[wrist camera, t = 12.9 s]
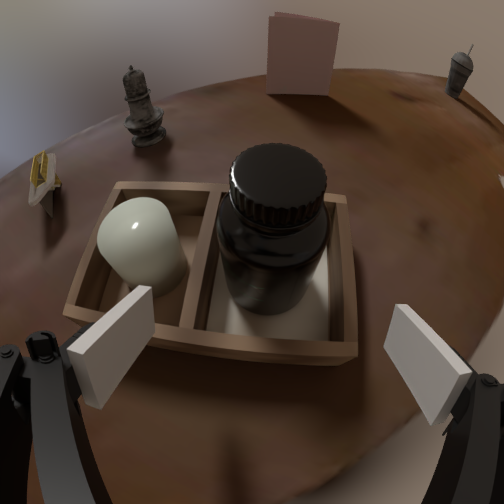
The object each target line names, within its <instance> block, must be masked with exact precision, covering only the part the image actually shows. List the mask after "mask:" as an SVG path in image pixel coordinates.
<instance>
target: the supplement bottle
mask: <svg viewBox="0 0 504 504" xmlns="http://www.w3.org/2000/svg"><path fill="white" fill-rule="evenodd" d="M326 181H327V176H326V174H325V170H324V168H323V167H322V164H321V163H320V162H319V161H318V159H317V158H315V157H313V155H312V154H310V153H308V152H306V151H305V150H303V149H300V148H298V147H296V146H291V145H289V144H282V143H277V144H276V143H269V144H261V145H255V146H254V147H251V148H248V149H247V150H246V151H243V152H241V154H240V155H239V156H237V157H236V160H234V161H233V162H232V166H231V168H230V174H229V184H230V188H229V191H228V192H227V194H226V195H225V196H224V198H223V199H222V201H221V203H220V205H219V207H218V210H217V214H216V231H217V237H218V243H219V248H220V253H221V259H222V264H223V269H224V274H225V279H226V284H227V287H228V290H229V292H230V294H231V296H232V298H233V299H234V300H235V301H236V302H237V304H239V305H240V306H241V307H242V308H244V309H245V310H247V311H249V312H251V313H254V314H258V315H264V316H271V315H278V314H281V313H284V312H286V311H289V310H290V309H292V308H293V307H295V306H296V305H297V304H298V303H299V302H300V301H301V299H302V298H303V296H304V295H305V293H306V291H307V289H308V287H309V284H310V282H311V280H312V278H313V275H314V273H315V271H316V269H317V266H318V264H319V262H320V259H321V257H322V255H323V252H324V250H325V248H326V245H327V242H328V239H329V236H330V230H331V221H330V216H329V212H328V209H327V207H326V205H325V203H324V194H325V190H326V187H327V183H326Z"/></svg>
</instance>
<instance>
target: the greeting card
mask: <svg viewBox="0 0 504 504" xmlns="http://www.w3.org/2000/svg"><path fill="white" fill-rule="evenodd" d="M339 25H340V24H339V23H336V22H332V21H328V20H323V19H318V18H313V17H308V16H302V15H296V14H289V13H281V12H275V17H272V16H270V17H269V33H268V58H267V60H268V61H267V85H266V94H307V95H325V96H328V93H329V87H330V81H331V76H332V70H333V63H334V58H335V51H336V45H337V39H338V32H339Z"/></svg>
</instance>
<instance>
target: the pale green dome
mask: <svg viewBox="0 0 504 504" xmlns="http://www.w3.org/2000/svg"><path fill="white" fill-rule="evenodd" d="M97 244H98V248H99V251H100V253H101V254H102V255H103V257H104V258H105V259H106V260H107V262H108V263H109V264H110V265H111V266H112V267H113V269H114V270H115V271H116V272H117V273H118V275H119V276H120V277H121V278H122V279H123V280H124V281H125V283H126V284H127V285H128V286H129V287H130V288H131V289H132V290H134V289H135V288H137V287H138V286H139V285H141V286H149V287H152V297H153V298H156V297H160V296H164V295H166V294H168V293H170V292H171V291H173V290H174V289H175V288H176V287H177V286H178V285H179V284H180V282H181V281H182V279H183V278H184V275H185V273H186V268H187V260H186V256H185V253H184V250H183V248H182V245H181V243H180V240H179V237H178V235H177V232H176V229H175V227H174V224H173V221H172V219H171V216H170V213H169V211H168V209H167V207H166V206H165V205H164V204H163V203H162V202H160V201H158V200H156V199H153V198H148V197H139V198H134V199H130V200H127V201H125V202H123V203H121V204H120V205H118V206H117V207H115V208H114V209H113V210H112V211H110V212H109V214H108V215H107V216H106V217H105V218H104V220H103V221H102V223H101V225H100V228H99V230H98V235H97Z"/></svg>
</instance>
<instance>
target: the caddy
mask: <svg viewBox="0 0 504 504" xmlns="http://www.w3.org/2000/svg"><path fill="white" fill-rule="evenodd" d="M229 188H230V184H216V183H194V182H143V181H136V182H117V183H116V184H115V186H114V188H113V190H112V192H111V194H110V196H109V198H108V200H107V202H106V204H105V206H104V208H103V210H102V212H101V214H100V216H99V219H98V221H97V223H96V225H95V227H94V230H93V232H92V234H91V236H90V239H89V241H88V244H87V246H86V248H85V251H84V253H83V256H82V258H81V261H80V264H79V266H78V269H77V272H76V274H75V277H74V280H73V283H72V286H71V289H70V292H69V295H68V298H67V301H66V304H65V307H64V311H63V314H62V315H64V316H65V317H67V318H68V319H70V320H72V321H73V322H75V323H77V324H78V325H80V326H81V327H83V326H85V325H87V324H89V323H92V322H95V323H96V322H97V321H98V320H99V319H100V318H102V317H103V316H104V315H105V314H106V313H107V312H108V311H110V310H111V309H112V308H113V307H114V306H115V305H116V304H118V303H119V302H120V301H121V300H122V299H123V298H125V297H126V296H127V295H128V294H129V293H131V292H132V291H133V290H132V289H131V288H130V287H129V286H128V285H127V284H126V283H125V281H124V280H123V279H122V278H121V277H120V276H119V275H118V273H117V272H116V271H115V270H114V269H113V267H112V266H111V265H110V264H109V263H108V262H107V260H106V259H105V258H104V257H103V255H102V254H101V253H100V251H99V248H98V244H97V235H98V230H99V228H100V225H101V223H102V221H103V220H104V218H105V217H106V216H107V215H108V214H109V212H110V211H112V210H113V209H114V208H115V207H117V206H118V205H120V204H121V203H123V202H125V201H127V200H130V199H134V198H139V197H148V198H153V199H156V200H158V201H160V202H162V203H163V204H164V205H165V206H166V207H167V209H168V211H169V213H170V216H171V219H172V221H173V224H174V227H175V229H176V232H177V235H178V237H179V240H180V243H181V245H182V248H183V250H184V253H185V256H186V260H187V268H186V273H185V275H184V278H183V279H182V281H181V282H180V284H179V285H178V286H177V287H176V288H175V289H174V290H173V291H171V292H170V293H168V294H166V295H164V296H160V297H156V298H153V310H154V321H155V333H154V335H153V336H152V337H151V339H150V340H149V342H148V343H147V344H146V345H148V346H153V347H158V348H163V349H168V350H174V351H179V352H185V353H191V354H197V355H204V356H211V357H218V358H226V359H234V360H243V361H253V362H264V363H277V364H293V365H318V366H339V365H341V364H343V363H345V362H348V361H350V360H352V359H354V358H356V357H358V321H357V298H356V282H355V269H354V258H353V248H352V239H351V230H350V222H349V215H348V208H347V201H346V196H345V195H338V194H330V193H325V194H324V203H325V205H326V207H327V209H328V212H329V216H330V221H331V230H330V236H329V239H328V242H327V245H326V248H325V250H324V252H323V255H322V257H321V259H320V262H319V264H318V266H317V269H316V271H315V273H314V275H313V278H312V280H311V282H310V284H309V287H308V289H307V291H306V293H305V295H304V296H303V298H302V299H301V301H300V302H299V303H298V304H297V305H296V306H295V307H293V308H292V309H290V310H289V311H286V312H284V313H281V314H278V315H271V316H264V315H258V314H254V313H251V312H249V311H247V310H245V309H244V308H242V307H241V306H240V305H239V304H237V302H236V301H235V300H234V299H233V298H232V296H231V294H230V292H229V290H228V287H227V284H226V279H225V274H224V269H223V264H222V259H221V253H220V248H219V243H218V237H217V231H216V214H217V210H218V207H219V205H220V203H221V201H222V199H223V198H224V196H225V195H226V194H227V192H228V191H229Z"/></svg>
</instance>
